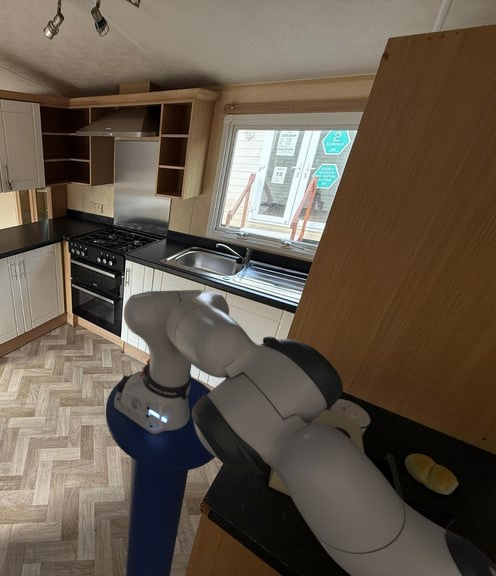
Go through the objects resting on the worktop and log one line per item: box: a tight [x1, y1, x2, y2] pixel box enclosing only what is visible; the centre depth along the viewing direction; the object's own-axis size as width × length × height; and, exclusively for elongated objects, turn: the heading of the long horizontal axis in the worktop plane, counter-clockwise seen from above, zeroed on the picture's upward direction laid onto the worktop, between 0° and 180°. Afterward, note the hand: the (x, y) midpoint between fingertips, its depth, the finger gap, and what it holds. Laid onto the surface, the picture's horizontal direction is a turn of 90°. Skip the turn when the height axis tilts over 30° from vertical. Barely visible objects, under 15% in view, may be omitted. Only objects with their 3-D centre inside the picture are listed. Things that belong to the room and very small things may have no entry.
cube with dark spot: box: [268, 410, 365, 497], centre depth 71 cm, size 14×14×17 cm
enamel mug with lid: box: [329, 398, 371, 436], centre depth 83 cm, size 12×9×12 cm
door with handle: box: [364, 451, 458, 531], centre depth 67 cm, size 21×14×10 cm, turn 60°
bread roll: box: [404, 453, 459, 496], centre depth 74 cm, size 8×9×4 cm
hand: (448, 551), depth 56 cm, fingers open, 8 cm apart
